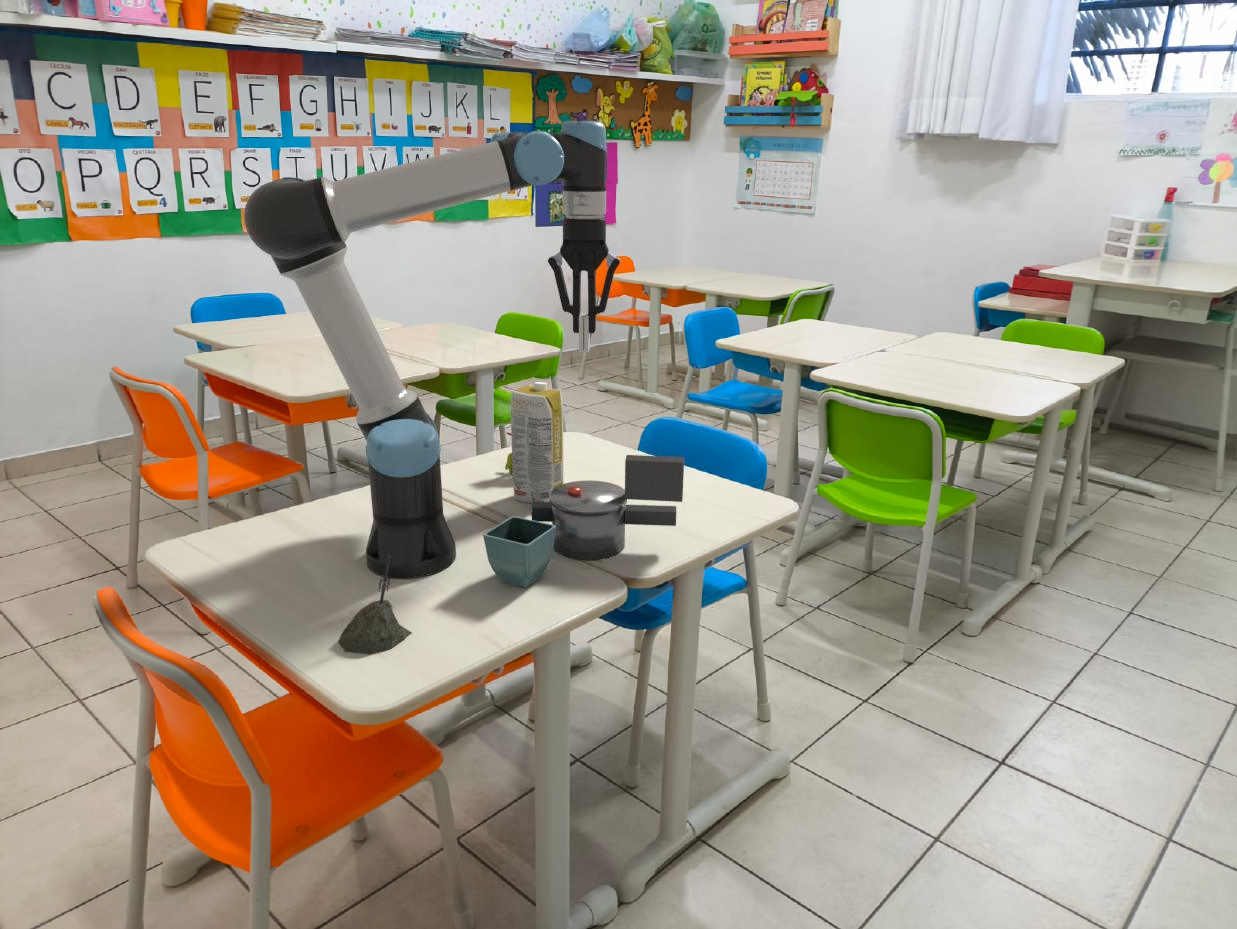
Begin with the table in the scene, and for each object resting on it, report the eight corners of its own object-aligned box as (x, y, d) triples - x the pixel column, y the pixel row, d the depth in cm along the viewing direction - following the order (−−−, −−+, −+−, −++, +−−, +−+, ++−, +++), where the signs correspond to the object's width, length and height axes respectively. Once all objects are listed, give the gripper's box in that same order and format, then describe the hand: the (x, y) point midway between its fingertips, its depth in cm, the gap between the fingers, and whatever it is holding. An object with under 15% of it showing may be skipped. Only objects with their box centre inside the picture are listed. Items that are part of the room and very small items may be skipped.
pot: (528, 558, 152) (526, 513, 149) (538, 528, 164) (537, 486, 161) (675, 564, 150) (676, 518, 147) (674, 532, 163) (676, 490, 160)
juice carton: (568, 496, 179) (567, 382, 170) (547, 509, 172) (545, 391, 164) (530, 488, 183) (527, 376, 175) (508, 500, 176) (504, 385, 168)
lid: (543, 512, 148) (542, 467, 146) (556, 483, 161) (556, 441, 158) (681, 519, 146) (682, 473, 144) (683, 489, 159) (685, 447, 156)
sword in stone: (360, 664, 121) (350, 585, 117) (330, 645, 126) (320, 569, 122) (421, 636, 128) (413, 561, 124) (390, 620, 133) (382, 547, 129)
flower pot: (483, 584, 143) (481, 533, 140) (514, 563, 150) (512, 514, 147) (528, 596, 139) (527, 545, 136) (557, 574, 146) (557, 525, 143)
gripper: (543, 217, 148) (545, 354, 156) (621, 218, 147) (619, 356, 156) (549, 214, 155) (550, 345, 163) (623, 215, 155) (621, 347, 163)
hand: (584, 350), depth 159 cm, fingers closed
